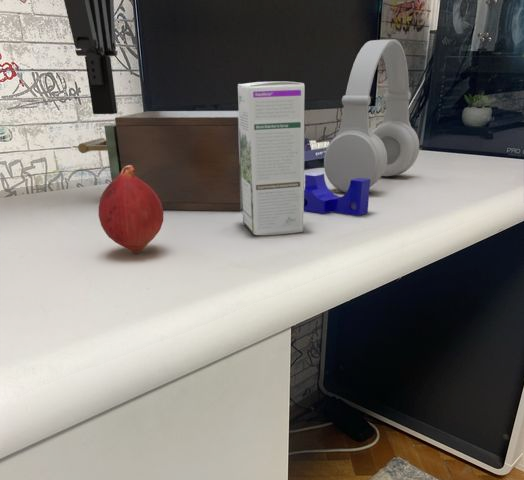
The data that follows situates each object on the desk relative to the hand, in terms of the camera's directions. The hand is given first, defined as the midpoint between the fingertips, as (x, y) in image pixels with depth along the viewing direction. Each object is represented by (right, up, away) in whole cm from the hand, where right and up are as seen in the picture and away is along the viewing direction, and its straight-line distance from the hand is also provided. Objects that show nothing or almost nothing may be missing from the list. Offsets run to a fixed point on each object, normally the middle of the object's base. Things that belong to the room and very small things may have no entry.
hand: (105, 113), depth 69 cm
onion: (+8, -22, -18) cm, 29 cm away
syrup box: (+21, -17, -10) cm, 29 cm away
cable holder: (+29, -14, -3) cm, 32 cm away
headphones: (+38, -5, +14) cm, 40 cm away
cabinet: (+11, -10, +4) cm, 15 cm away
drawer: (+6, -9, +4) cm, 12 cm away
